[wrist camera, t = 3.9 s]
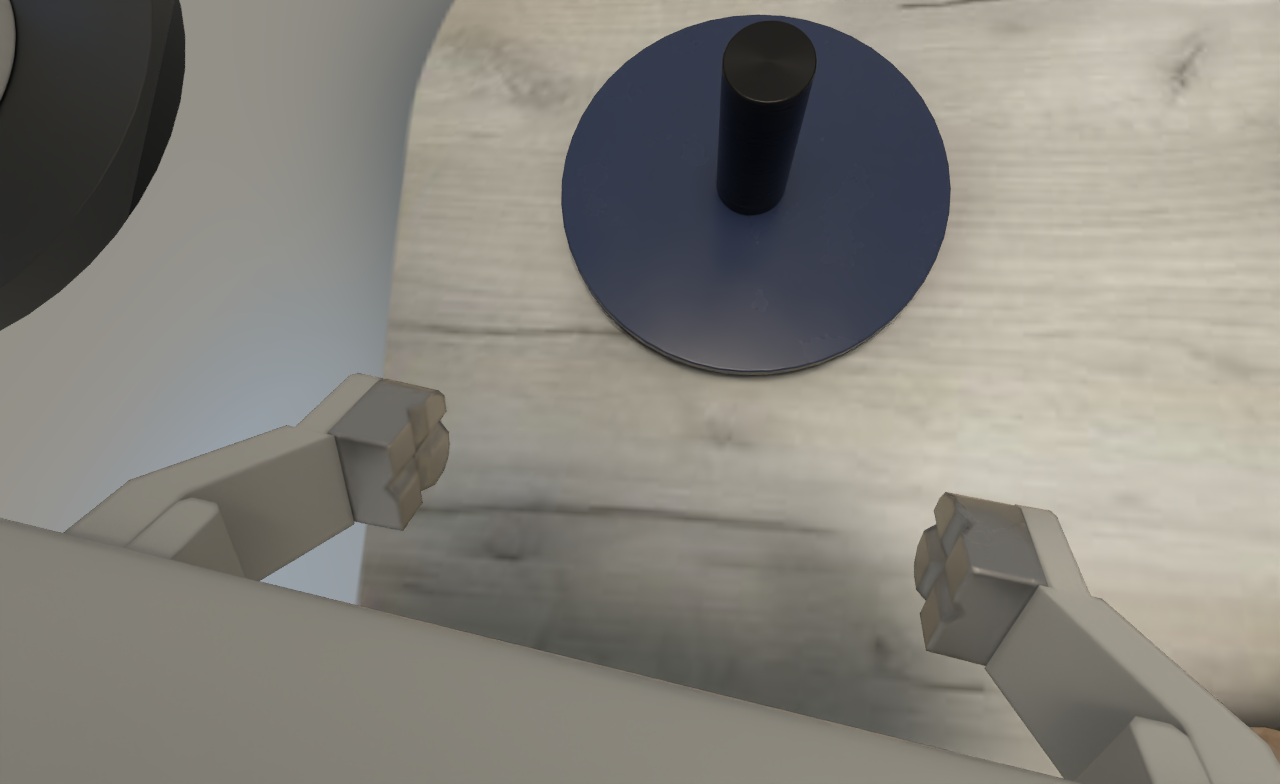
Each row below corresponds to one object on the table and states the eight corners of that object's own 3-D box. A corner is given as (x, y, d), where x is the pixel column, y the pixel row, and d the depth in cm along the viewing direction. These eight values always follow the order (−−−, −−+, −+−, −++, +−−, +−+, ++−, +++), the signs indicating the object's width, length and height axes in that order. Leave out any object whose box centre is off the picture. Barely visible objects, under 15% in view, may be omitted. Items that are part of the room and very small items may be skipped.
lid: (551, 369, 26) (484, 304, 18) (582, 35, 29) (536, -153, 21) (942, 388, 25) (1059, 325, 17) (937, 34, 27) (1037, -168, 19)
